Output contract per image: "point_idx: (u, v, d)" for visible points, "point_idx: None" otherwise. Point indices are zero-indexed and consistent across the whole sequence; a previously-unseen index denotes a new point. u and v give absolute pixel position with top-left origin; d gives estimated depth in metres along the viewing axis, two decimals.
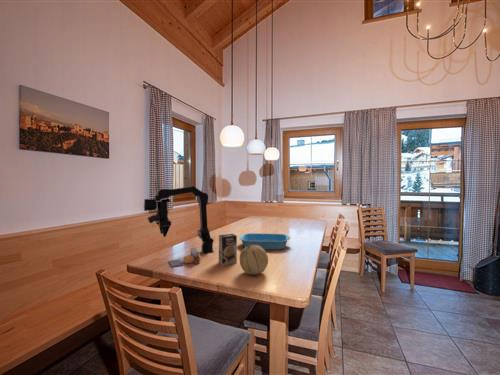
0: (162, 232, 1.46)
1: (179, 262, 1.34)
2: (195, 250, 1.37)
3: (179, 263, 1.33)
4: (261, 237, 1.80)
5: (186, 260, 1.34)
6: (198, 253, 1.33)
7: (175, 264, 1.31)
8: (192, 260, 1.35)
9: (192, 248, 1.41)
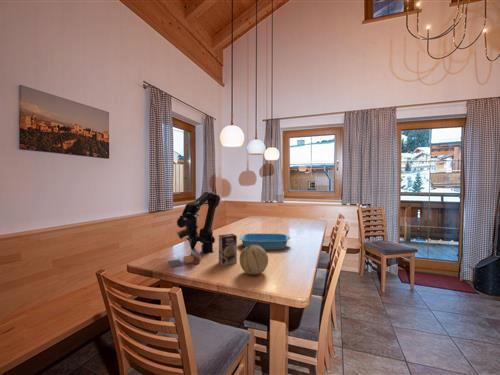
0: None
1: (179, 262, 1.34)
2: (196, 251, 1.35)
3: (179, 263, 1.33)
4: (261, 237, 1.80)
5: (186, 260, 1.33)
6: (199, 254, 1.32)
7: (175, 264, 1.31)
8: (192, 260, 1.35)
9: (193, 249, 1.39)
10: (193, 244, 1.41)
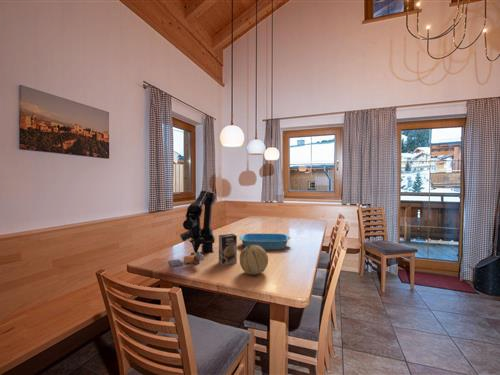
0: None
1: (179, 262, 1.34)
2: (199, 254, 1.30)
3: (179, 263, 1.33)
4: (261, 237, 1.80)
5: (186, 260, 1.34)
6: (203, 257, 1.27)
7: (175, 264, 1.31)
8: (192, 260, 1.35)
9: (196, 251, 1.34)
10: (196, 247, 1.35)
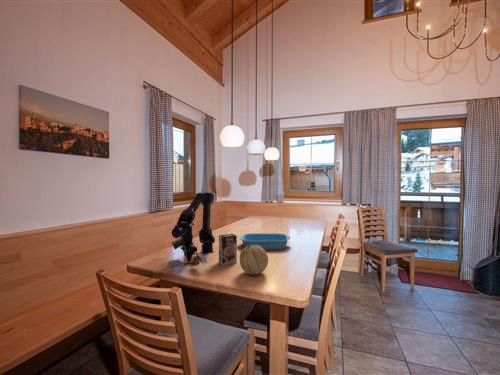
0: None
1: (179, 262, 1.34)
2: (202, 256, 1.26)
3: (179, 263, 1.33)
4: (260, 237, 1.80)
5: (186, 260, 1.33)
6: (205, 259, 1.23)
7: (175, 264, 1.31)
8: (192, 260, 1.35)
9: (198, 254, 1.30)
10: (189, 255, 1.33)
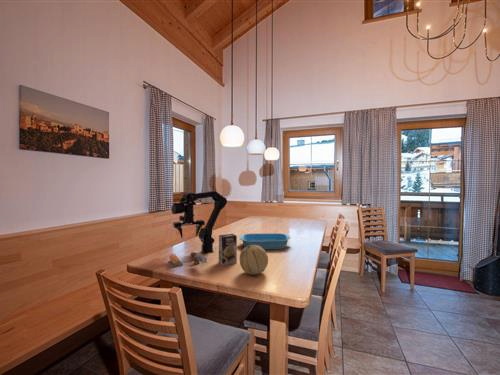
0: (196, 235, 1.49)
1: None
2: (202, 256, 1.26)
3: (179, 263, 1.33)
4: (260, 237, 1.80)
5: (169, 258, 1.36)
6: (205, 259, 1.23)
7: None
8: (171, 261, 1.33)
9: (198, 254, 1.30)
10: (179, 232, 1.44)
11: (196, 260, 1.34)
